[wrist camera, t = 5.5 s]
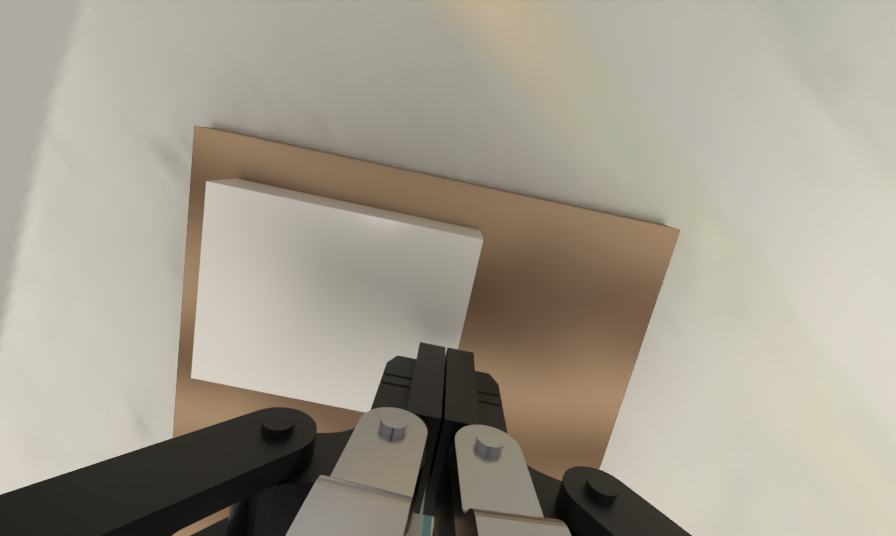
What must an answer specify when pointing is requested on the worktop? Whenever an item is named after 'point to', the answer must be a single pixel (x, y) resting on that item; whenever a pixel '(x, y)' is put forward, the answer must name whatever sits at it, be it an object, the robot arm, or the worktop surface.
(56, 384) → the worktop surface
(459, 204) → the board
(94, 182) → the worktop surface
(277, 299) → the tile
